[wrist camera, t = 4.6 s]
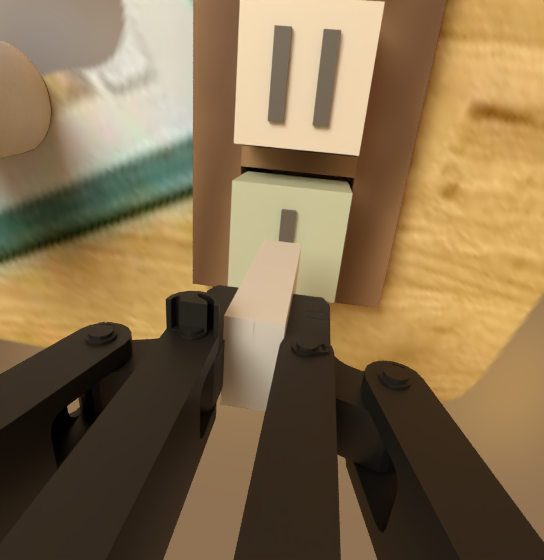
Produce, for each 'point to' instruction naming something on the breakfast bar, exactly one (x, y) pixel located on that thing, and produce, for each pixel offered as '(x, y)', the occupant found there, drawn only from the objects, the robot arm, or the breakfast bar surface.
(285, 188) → the slotted block
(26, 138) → the coffee cup
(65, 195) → the breakfast bar surface
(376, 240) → the board
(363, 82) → the tile
